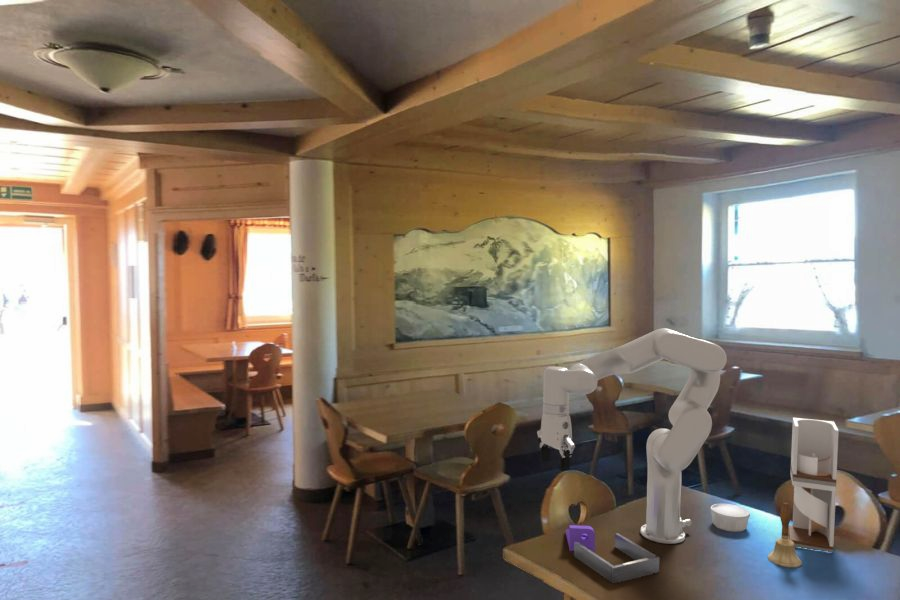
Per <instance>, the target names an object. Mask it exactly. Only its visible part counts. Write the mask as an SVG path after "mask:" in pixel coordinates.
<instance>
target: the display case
mask: <svg viewBox="0 0 900 600" xmlns="http://www.w3.org/2000/svg"><path fill="white" fill-rule="evenodd" d="M791 425H792V428H791V429H792V430H791V432H792V433H791V452H790V479H791V484H792V486H793V487H794V488H793V507H792V508H793V509H792V525H790V524H789V526H788V532H789V533H788V534H789V540H791V541H793V542H794V547H801V548H807V549H813V550H821V551H828V552H833V553H834V541H835V540H834V538H835V536H834V535H835V519H836V518H835V517H836V515H835V514H836V496H837V495H836V493H837V476H838V475H837V474H838V472H837V471H838V452H839V451H838V450H839V434H840V433H839V432H840V431H839V428H838V426H837V425H836V423H835V421H834V420H822V419H812V418H811V419H810V418H803V417H802V418H800V417H792V424H791ZM801 548H800V549H801Z"/></svg>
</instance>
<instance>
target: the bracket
mask: <svg viewBox="0 0 900 600" xmlns="http://www.w3.org/2000/svg"><path fill="white" fill-rule="evenodd" d="M568 527H569V528H566V529H565V536H566V537H565V538H566V540H567V544H568V548H569V549H568V550H569V552H574V542H579V543H580V544H582V545H583V546H585V547H586V548H588V549H589V550H591V551H592V552H594V553H595V552H596V551H595V550H596V549H595V548H596V544H595V543H596V537H595V536H596V534H595V531H594V528H593V527H592V526H590V525H573V524H569V526H568Z"/></svg>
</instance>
